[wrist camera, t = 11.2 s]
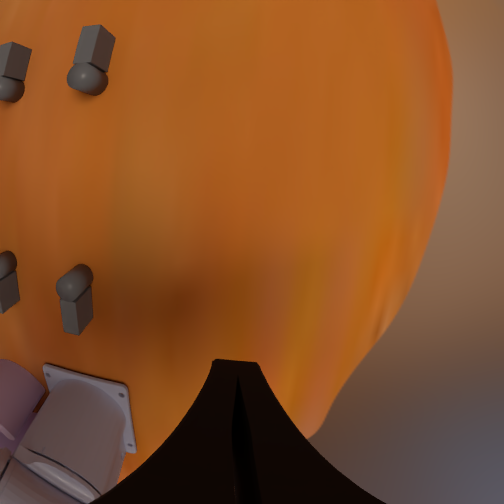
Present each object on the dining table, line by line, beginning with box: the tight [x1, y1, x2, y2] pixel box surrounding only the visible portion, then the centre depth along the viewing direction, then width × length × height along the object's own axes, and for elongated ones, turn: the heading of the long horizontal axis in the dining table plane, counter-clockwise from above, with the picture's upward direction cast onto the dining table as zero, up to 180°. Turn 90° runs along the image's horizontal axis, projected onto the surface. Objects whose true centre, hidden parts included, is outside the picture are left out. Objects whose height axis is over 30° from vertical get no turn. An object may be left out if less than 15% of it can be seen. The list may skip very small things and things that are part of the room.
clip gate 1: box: [56, 25, 115, 335], centre depth 16 cm, size 19×2×2 cm, turn 171°
